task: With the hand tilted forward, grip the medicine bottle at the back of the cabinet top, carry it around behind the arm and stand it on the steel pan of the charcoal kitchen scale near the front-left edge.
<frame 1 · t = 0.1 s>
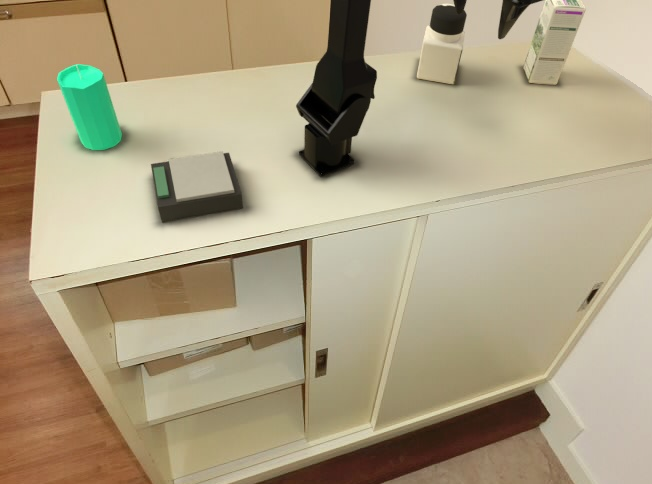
hand: (479, 25, 82), 15 cm above the table, tool pointing down, fingers open, 9 cm apart
scale: (198, 193, 75), on the table
syrup box: (538, 77, 103), on the table
medicine bottle: (436, 73, 101), on the table
candle: (102, 139, 81), on the table
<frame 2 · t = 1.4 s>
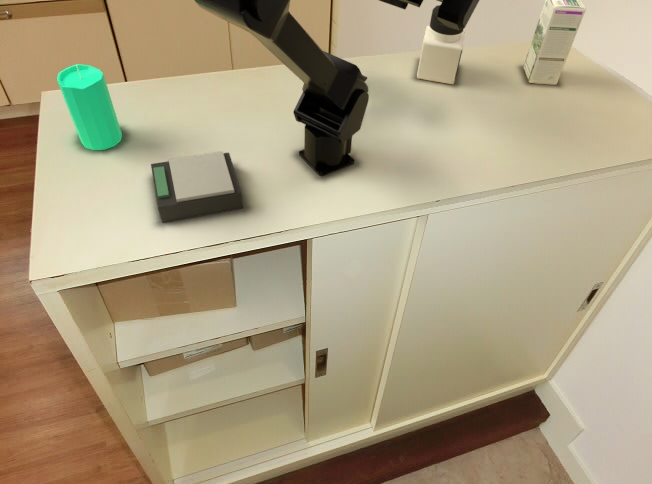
hand: (429, 15, 86), 13 cm above the table, tool tilted 45°, fingers open, 9 cm apart
nothing on the table moved.
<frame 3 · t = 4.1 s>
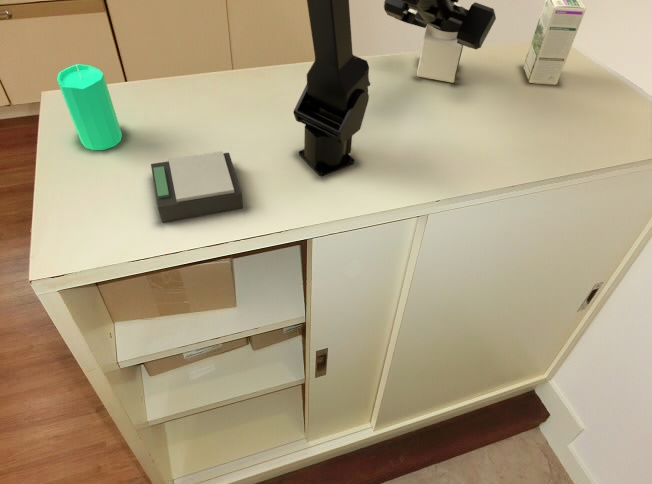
hand: (447, 33, 96), 7 cm above the table, tool tilted 45°
medicine bottle: (436, 72, 101), on the table, touching gripper
everything else where it was.
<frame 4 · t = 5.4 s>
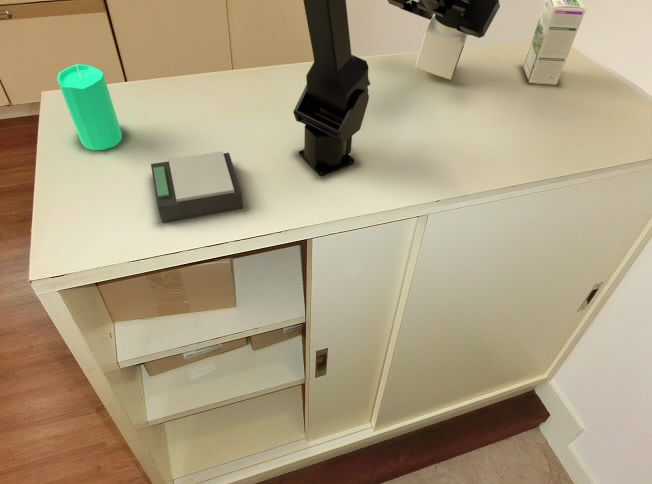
hand: (449, 24, 95), 9 cm above the table, tool tilted 45°, fingers closed on medicine bottle, 7 cm apart
medicine bottle: (435, 66, 100), point 1 cm above the table, touching gripper
everything else where it was.
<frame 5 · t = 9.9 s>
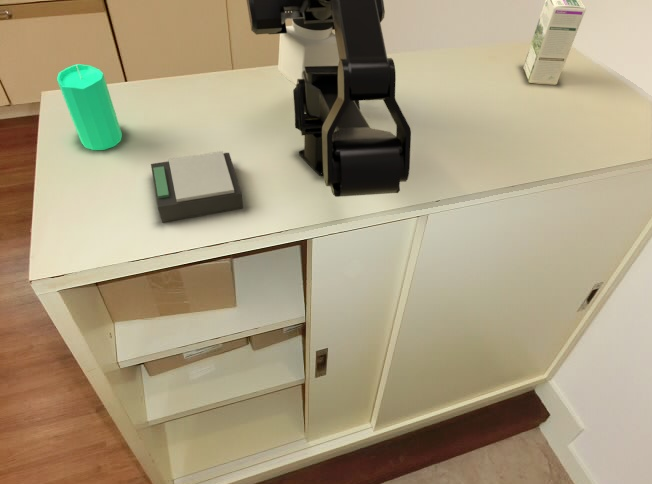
hand: (306, 27, 81), 13 cm above the table, tool tilted 45°, fingers closed on medicine bottle, 7 cm apart
medicine bottle: (307, 78, 85), point 6 cm above the table, touching gripper
everything else where it was.
when the fingers open (11 cm above the table, at t = 14.5 s): medicine bottle stays where it is, resting on scale.
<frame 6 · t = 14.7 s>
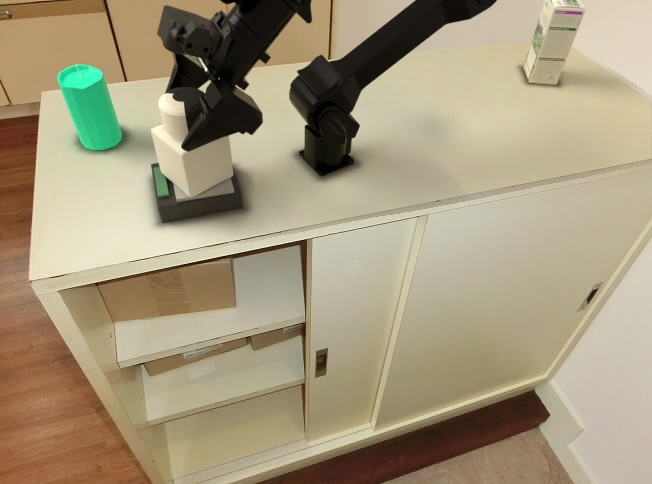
hand: (174, 128, 66), 11 cm above the table, tool tilted 45°, fingers open, 9 cm apart
medicine bottle: (197, 175, 72), point 3 cm above the table, touching scale
everything else where it was.
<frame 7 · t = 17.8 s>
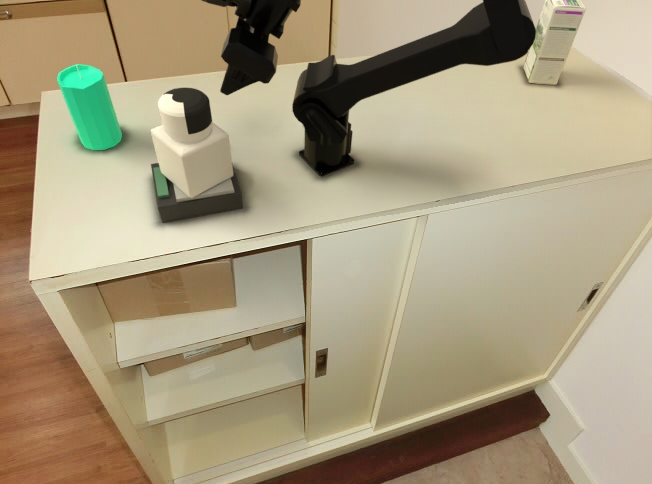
hand: (228, 72, 72), 13 cm above the table, tool tilted 30°, fingers open, 9 cm apart
nothing on the table moved.
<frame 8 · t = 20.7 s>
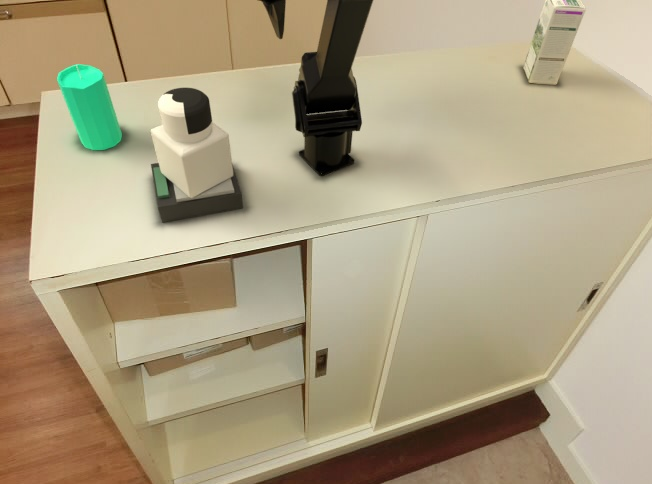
hand: (305, 31, 81), 13 cm above the table, tool pointing down, fingers open, 9 cm apart
nothing on the table moved.
at the end: medicine bottle inside the target area on the scale (0.3 cm from its centre), point 3.2 cm above the scale's base; medicine bottle tilted 0°; the gripper is holding nothing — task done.
